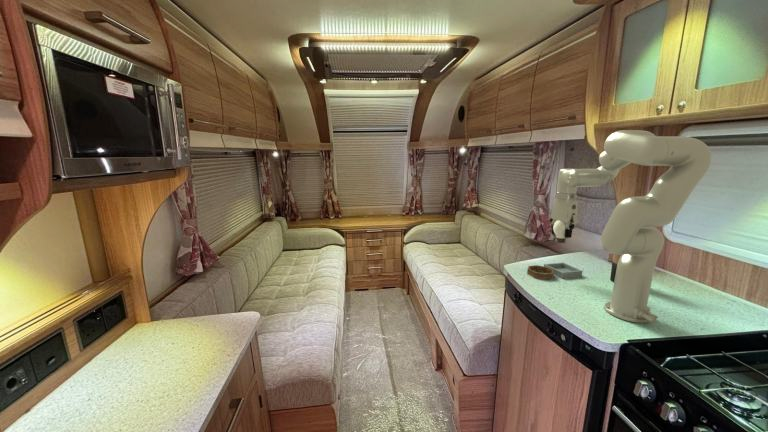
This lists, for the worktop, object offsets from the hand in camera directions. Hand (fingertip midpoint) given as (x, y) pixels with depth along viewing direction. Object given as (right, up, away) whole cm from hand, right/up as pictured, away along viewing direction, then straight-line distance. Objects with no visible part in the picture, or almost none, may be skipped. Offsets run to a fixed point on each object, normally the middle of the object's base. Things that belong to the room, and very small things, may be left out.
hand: (560, 235), depth 135 cm
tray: (+3, -18, +5) cm, 19 cm away
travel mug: (+23, -20, -5) cm, 31 cm away
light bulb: (0, -3, +1) cm, 3 cm away
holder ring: (-8, -18, +2) cm, 20 cm away
